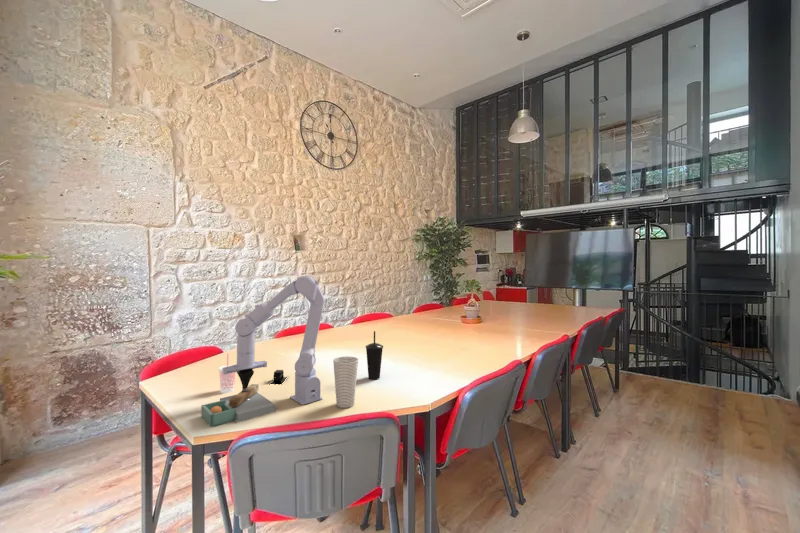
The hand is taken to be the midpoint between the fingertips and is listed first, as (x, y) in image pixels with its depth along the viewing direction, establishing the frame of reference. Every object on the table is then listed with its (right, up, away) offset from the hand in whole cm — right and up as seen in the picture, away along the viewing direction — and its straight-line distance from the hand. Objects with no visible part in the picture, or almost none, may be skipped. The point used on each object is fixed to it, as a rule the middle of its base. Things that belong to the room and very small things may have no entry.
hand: (244, 390), depth 120 cm
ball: (-2, -1, -15) cm, 15 cm away
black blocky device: (+4, -5, +22) cm, 23 cm away
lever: (+2, -1, -5) cm, 6 cm away
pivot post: (+2, -3, -5) cm, 6 cm away
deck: (+4, -3, -7) cm, 8 cm away
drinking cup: (+44, -4, +26) cm, 51 cm away
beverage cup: (-11, -4, +10) cm, 15 cm away
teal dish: (-2, -3, -14) cm, 15 cm away
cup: (+36, -4, -3) cm, 36 cm away
